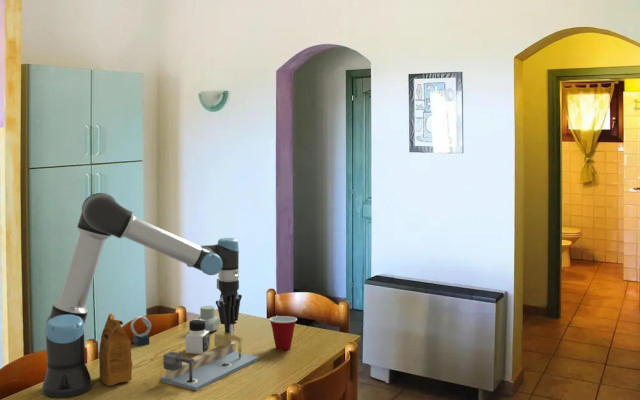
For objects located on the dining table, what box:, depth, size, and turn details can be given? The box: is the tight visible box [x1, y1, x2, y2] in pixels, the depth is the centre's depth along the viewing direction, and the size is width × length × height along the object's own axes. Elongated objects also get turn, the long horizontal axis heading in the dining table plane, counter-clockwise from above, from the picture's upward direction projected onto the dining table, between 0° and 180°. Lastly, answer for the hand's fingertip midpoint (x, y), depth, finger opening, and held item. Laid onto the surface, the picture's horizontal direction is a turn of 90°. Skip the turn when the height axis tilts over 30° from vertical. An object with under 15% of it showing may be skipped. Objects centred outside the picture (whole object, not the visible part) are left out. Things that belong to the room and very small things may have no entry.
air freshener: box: [197, 305, 221, 333], centre depth 284 cm, size 11×8×10 cm
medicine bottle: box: [185, 318, 211, 355], centre depth 258 cm, size 7×7×12 cm
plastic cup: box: [269, 315, 298, 351], centre depth 261 cm, size 11×11×12 cm
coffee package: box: [98, 313, 133, 387], centre depth 228 cm, size 10×12×22 cm
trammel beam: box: [163, 341, 237, 382], centre depth 239 cm, size 34×11×8 cm, turn 148°
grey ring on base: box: [130, 315, 153, 347], centre depth 267 cm, size 6×8×11 cm
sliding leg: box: [214, 330, 243, 358], centre depth 249 cm, size 4×11×8 cm, turn 58°
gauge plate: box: [160, 351, 260, 392], centre depth 238 cm, size 34×16×1 cm, turn 148°
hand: (229, 340), depth 254 cm, fingers closed
